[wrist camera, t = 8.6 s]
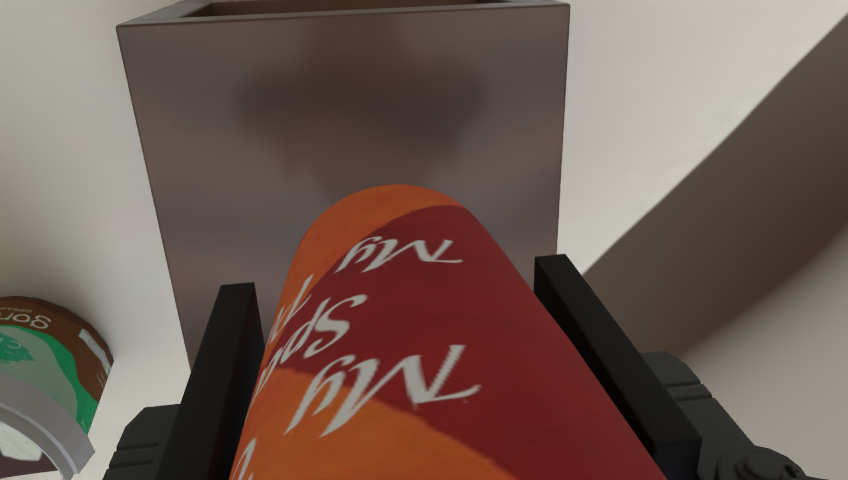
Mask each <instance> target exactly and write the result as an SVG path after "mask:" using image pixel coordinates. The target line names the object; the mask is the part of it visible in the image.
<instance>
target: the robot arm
mask: <svg viewBox="0 0 848 480" xmlns="http://www.w3.org/2000/svg"><path fill="white" fill-rule="evenodd" d="M533 292H534V294H535V295H536V297H537V298H538V299H539V301H540V302H541V303H542V305H543V306H544V307H545V308H546V310H547V311H548V312H549V314H550V315H551V316H552V317H553V319H554V320H555V321H556V323H557V324H558V325H559V327H560V328H561V329H562V330H563V332H564V333H565V334H566V336H567V337H568V338H569V339H570V341H571V342H572V344H573V345H574V347H575V348H576V349H577V351H578V352H579V354H580V355H581V357H582V358H583V360H584V361H585V362H586V364H587V365H588V367H589V368H590V370H591V371H592V373H593V374H594V375H595V377H596V378H597V380H598V381H599V383H600V384H601V385H602V387H603V388H604V390H605V391H606V393H607V394H608V396H609V397H610V398H611V400H612V401H613V403H614V404H615V406H616V407H617V409H618V410H619V411H620V413H621V414H622V416H623V417H624V419H625V420H626V421H627V423H628V424H629V426H630V427H631V429H632V430H633V432H634V433H635V434H636V436H637V437H638V439H639V440H640V442H641V443H642V445H643V446H644V447H645V449H646V450H647V452H648V453H649V455H650V456H651V457H652V459H653V460H654V462H655V463H656V464H657V466H658V467H659V469H660V470H661V471H662V473H663V474H664V476H665V477H666V478H667V480H826V479H819V478H814V477H808V476H806V475H805V473H804V472H803V471H802V469H801V468H800V467H799V466H798V465H797V464H795V463H794V462H793V461H792V460H790V459H789V458H788V457H786V456H784V455H782V454H780V453H778V452H775V451H773V450H771V449H768V448H764V447H759V446H755V445H754V444H753V443H752V442H751V441H750V439H749V438H748V437H747V436H746V435H745V434H744V432H743V431H742V430H741V429H740V428H739V426H738V425H737V424H736V423H735V422H734V420H733V419H732V418H731V417H730V416H729V414H728V413H727V412H726V411H725V410H724V409H723V407H722V406H721V405H720V404H719V403H718V401H717V400H716V399H715V398H712V395H711V393H710V392H709V391H708V389H707V388H706V387H705V386H704V385H703V384H701V383H700V380H699V379H698V378H697V376H696V375H695V374H694V373H693V372H692V370H691V369H690V368H689V367H688V366H687V364H685V363H684V362H682V361H680V360H679V359H677V358H676V357H674V356H672V355H671V354H669V353H667V352H666V351H656V352H646V353H639V352H638V351H637V349H636V348H635V347H634V346H633V344H632V343H631V341H630V340H629V339H628V337H627V336H626V335H625V333H624V332H623V331H622V329H621V328H620V327H619V325H618V324H617V323H616V321H615V320H614V319H613V317H612V316H611V315H610V313H609V312H608V311H607V309H606V308H605V307H604V305H603V304H602V303H601V301H600V300H599V299H598V297H597V296H596V295H595V293H594V292H593V291H592V289H591V288H590V287H589V285H588V284H587V283H586V281H585V280H584V279H583V277H582V276H581V274H580V273H579V272H578V270H577V269H576V268H575V266H574V265H573V264H572V262H571V261H570V260H569V258H568V257H567V256H566V254H559V255H548V256H537V257H535V262H534V291H533ZM264 352H265V344H264V338H263V332H262V326H261V320H260V314H259V308H258V302H257V295H256V289H255V283H254V282H249V283H238V284H226V285H221V286H220V289H219V292H218V295H217V298H216V301H215V304H214V307H213V310H212V312H211V315H210V318H209V321H208V324H207V327H206V330H205V333H204V336H203V339H202V342H201V345H200V348H199V351H198V354H197V357H196V360H195V362H194V365H193V368H192V371H191V374H190V377H189V380H188V383H187V386H186V389H185V392H184V395H183V398H182V401H181V404H174V405H164V406H155V407H145V408H144V409H143V410H142V411H141V412H140V413H139V414H138V415H137V416H136V417H135V418H134V419H133V420H132V421H131V422H130V423H129V424H128V425H127V426H126V427H125V429H124V432H123V434H122V436H121V438H120V441H119V443H118V445H117V451H116V452H114V454H113V457H112V459H111V461H110V464H109V469H107V470H106V473H105V475H104V477H103V479H102V480H229V477H230V473H231V470H232V466H233V463H234V459H235V455H236V452H237V448H238V445H239V441H240V437H241V434H242V430H243V427H244V423H245V420H246V416H247V412H248V409H249V405H250V402H251V398H252V395H253V391H254V388H255V384H256V381H257V377H258V374H259V370H260V367H261V363H262V359H263V356H264Z"/></svg>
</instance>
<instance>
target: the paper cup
mask: <svg viewBox="0 0 848 480" xmlns="http://www.w3.org/2000/svg"><path fill="white" fill-rule="evenodd" d="M229 480H667V478H666V477H665V476H664V474H663V473H662V471H661V470H660V469H659V467H658V466H657V464H656V463H655V462H654V460H653V459H652V457H651V456H650V455H649V453H648V452H647V450H646V449H645V447H644V446H643V445H642V443H641V442H640V440H639V439H638V437H637V436H636V434H635V433H634V432H633V430H632V429H631V427H630V426H629V424H628V423H627V421H626V420H625V419H624V417H623V416H622V414H621V413H620V411H619V410H618V409H617V407H616V406H615V404H614V403H613V401H612V400H611V398H610V397H609V396H608V394H607V393H606V391H605V390H604V388H603V387H602V385H601V384H600V383H599V381H598V380H597V378H596V377H595V375H594V374H593V373H592V371H591V370H590V368H589V367H588V365H587V364H586V362H585V361H584V360H583V358H582V357H581V355H580V354H579V352H578V351H577V349H576V348H575V347H574V345H573V344H572V342H571V341H570V339H569V338H568V337H567V336H566V334H565V333H564V332H563V330H562V329H561V328H560V327H559V325H558V324H557V323H556V321H555V320H554V319H553V317H552V316H551V315H550V314H549V312H548V311H547V310H546V308H545V307H544V306H543V305H542V303H541V302H540V301H539V299H538V298H537V297H536V295H535V294H534V292H533V291H532V290H531V288H530V287H529V286H528V284H527V283H526V281H525V280H524V279H523V277H522V276H521V275H520V273H519V272H518V271H517V269H516V268H515V266H514V265H513V264H512V262H511V261H510V260H509V258H508V257H507V256H506V254H505V253H504V251H503V250H502V249H501V247H500V246H499V245H498V244H497V242H496V241H495V240H494V238H493V237H492V236H491V235H490V233H489V232H488V231H487V229H486V228H485V227H484V226H483V225H482V224H481V223H480V222H479V220H478V219H477V218H476V217H475V216H474V215H473V214H472V213H471V212H470V211H469V210H467V209H466V208H465V207H464V206H462V205H461V204H460V203H458V202H457V201H455V200H454V199H452V198H450V197H448V196H446V195H444V194H442V193H440V192H437V191H434V190H432V189H428V188H425V187H420V186H414V185H403V184H394V185H382V186H376V187H372V188H368V189H364V190H361V191H358V192H356V193H353V194H351V195H349V196H347V197H345V198H343V199H341V200H340V201H338V202H336V203H335V204H334V205H332V206H331V207H329V208H328V209H327V210H326V211H325V212H323V213H322V214H321V215H320V216H319V217H318V218H317V219H316V220H315V222H314V223H313V224H312V225H311V226H310V228H309V229H308V231H307V232H306V233H305V235H304V237H303V238H302V240H301V242H300V244H299V246H298V248H297V250H296V253H295V255H294V258H293V260H292V263H291V265H290V268H289V272H288V275H287V278H286V281H285V284H284V287H283V290H282V294H281V297H280V301H279V304H278V307H277V311H276V314H275V318H274V321H273V324H272V328H271V331H270V335H269V338H268V342H267V345H266V349H265V352H264V356H263V359H262V363H261V367H260V370H259V374H258V377H257V381H256V384H255V388H254V391H253V395H252V398H251V402H250V405H249V409H248V412H247V416H246V420H245V423H244V427H243V430H242V434H241V437H240V441H239V445H238V448H237V452H236V455H235V459H234V463H233V466H232V470H231V473H230V477H229Z"/></svg>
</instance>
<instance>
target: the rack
mask: <svg viewBox="0 0 848 480" xmlns="http://www.w3.org/2000/svg"><path fill="white" fill-rule="evenodd" d="M569 22H570V4H568V3H564V2H560V1H556V0H184V1H182V2H178V3H175V4H173V5H171V6H168V7H165V8H162V9H160V10H157V11H154V12H152V13H149V14H146V15H143V16H141V17H138V18H135V19H132V20H130V21H127V22H124V23H122V24H119V25H117V26H116V32H117V37H118V41H119V46H120V50H121V55H122V60H123V64H124V69H125V73H126V78H127V82H128V87H129V92H130V96H131V101H132V105H133V110H134V114H135V119H136V124H137V128H138V133H139V137H140V142H141V146H142V151H143V155H144V160H145V165H146V169H147V174H148V178H149V183H150V187H151V192H152V197H153V201H154V206H155V210H156V215H157V219H158V224H159V229H160V233H161V238H162V242H163V247H164V251H165V256H166V261H167V265H168V270H169V274H170V279H171V283H172V288H173V292H174V297H175V302H176V306H177V311H178V315H179V320H180V324H181V329H182V334H183V338H184V343H185V347H186V352H187V356H188V361H189V366H190V370H191V371H192V368H193V365H194V362H195V360H196V357H197V354H198V351H199V348H200V345H201V342H202V339H203V336H204V333H205V330H206V327H207V324H208V321H209V318H210V315H211V312H212V310H213V307H214V304H215V301H216V298H217V295H218V292H219V289H220V286H221V285H226V284H238V283H249V282H254V283H255V289H256V295H257V302H258V308H259V314H260V320H261V326H262V332H263V338H264V344H265V349H266V345H267V342H268V338H269V335H270V331H271V328H272V324H273V321H274V318H275V314H276V311H277V307H278V304H279V301H280V297H281V294H282V290H283V287H284V284H285V281H286V278H287V275H288V272H289V268H290V265H291V263H292V260H293V258H294V255H295V253H296V250H297V248H298V246H299V244H300V242H301V240H302V238H303V237H304V235H305V233H306V232H307V231H308V229H309V228H310V226H311V225H312V224H313V223H314V222H315V220H316V219H317V218H318V217H319V216H320V215H321V214H322V213H323V212H325V211H326V210H327V209H328V208H329V207H331V206H332V205H334V204H335V203H336V202H338V201H340V200H341V199H343V198H345V197H347V196H349V195H351V194H353V193H356V192H358V191H361V190H364V189H368V188H372V187H376V186H382V185H394V184H403V185H414V186H420V187H425V188H428V189H432V190H434V191H437V192H440V193H442V194H444V195H446V196H448V197H450V198H452V199H454V200H455V201H457V202H458V203H460V204H461V205H462V206H464V207H465V208H466V209H467V210H469V211H470V212H471V213H472V214H473V215H474V216H475V217H476V218H477V219H478V220H479V222H480V223H481V224H482V225H483V226H484V227H485V228H486V229H487V231H488V232H489V233H490V235H491V236H492V237H493V238H494V240H495V241H496V242H497V244H498V245H499V246H500V247H501V249H502V250H503V251H504V253H505V254H506V256H507V257H508V258H509V260H510V261H511V262H512V264H513V265H514V266H515V268H516V269H517V271H518V272H519V273H520V275H521V276H522V277H523V279H524V280H525V281H526V283H527V284H528V286H529V287H530V288H531V290H532V291H534V262H535V257H537V256H548V255H557V237H558V219H559V201H560V183H561V165H562V148H563V130H564V112H565V94H566V76H567V58H568V40H569Z"/></svg>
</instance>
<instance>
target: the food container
mask: <svg viewBox="0 0 848 480" xmlns="http://www.w3.org/2000/svg"><path fill="white" fill-rule="evenodd" d="M113 362H114V360H113V358H112V355H111V353H110V351H109V348H108V346H107V344H106V343H105V342H104V340H103V339H102V338H101V337H100V336H99V334H98V333H97V332H96V331H95V330H94V328H93V327H92V326H91V325H90V324H89V323H87V322H86V321H84V320H83V319H81V318H80V317H78V316H77V315H76V314H74V313H73V312H71V311H70V310H68V309H66V308H64V307H61V306H58V305H55V304H53V303H50V302H47V301H44V300H42V299H37V298H28V297H20V296H11V297H0V479H1V478H5V477H12V476H19V475H26V474H33V473H41V472H49V471H57V470H58V471H59V472H60V474H61V476H62V478H63V480H71V478H72V477H73V475H74V474H79V473H80V471H81V470H82V469H83V467H84V466H85V465H86V463H87V462H88V461H89V459H90V458H91V457H92V455H93V454H94V453H95V451H94V448H93V446H92V444H91V442H90V440H89V438H88V436H87V435H88V432H89V429H90V426H91V424H92V421H93V418H94V415H95V412H96V410H97V407H98V404H99V401H100V398H101V396H102V393H103V390H104V387H105V384H106V382H107V379H108V376H109V373H110V370H111V367H112V365H113Z"/></svg>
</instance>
